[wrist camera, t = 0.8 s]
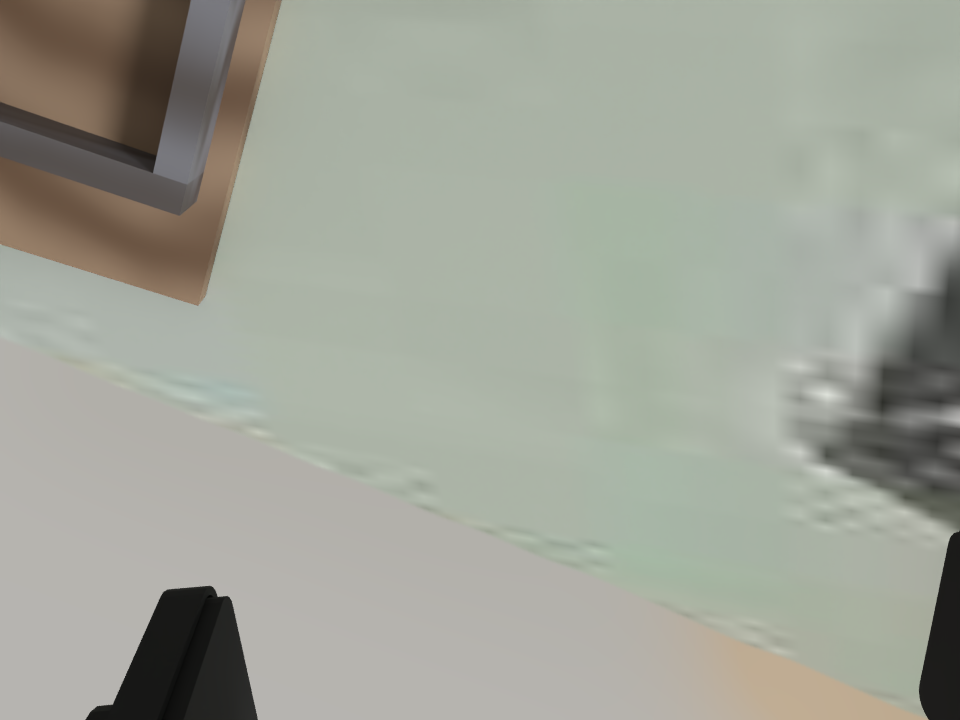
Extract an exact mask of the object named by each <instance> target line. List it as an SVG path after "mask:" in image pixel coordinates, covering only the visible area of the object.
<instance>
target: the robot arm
mask: <svg viewBox="0 0 960 720" xmlns="http://www.w3.org/2000/svg"><path fill="white" fill-rule="evenodd" d="M919 696H920V701H921V705H922V707H923V710H924V712H925V714H926V716H927V717H928V719H929V720H960V531H959V532H956V533H954V534H953V535H952V536H951V537H950V540H949V543H948V548H947V553H946V558H945V562H944V567H943V572H942V577H941V582H940V587H939V592H938V597H937V602H936V606H935V611H934V616H933V621H932V626H931V631H930V636H929V641H928V646H927V651H926V655H925V660H924V665H923V670H922V675H921V680H920V685H919ZM86 720H258V719H257V714H256V709H255V705H254V700H253V696H252V691H251V687H250V682H249V677H248V673H247V668H246V664H245V660H244V655H243V650H242V645H241V641H240V636H239V632H238V627H237V623H236V618H235V614H234V609H233V605H232V601H231V599H230V598H229V597H228V596H223V597H217V594H216V591H215V589H214V588H213V587H212V586H203V587H192V588H180V589H169V590H166V591H164V592H163V594H162V596H161V597H160V599H159V602H158V604H157V606H156V609H155V611H154V613H153V615H152V617H151V620H150V622H149V624H148V626H147V629H146V631H145V633H144V635H143V638H142V640H141V642H140V644H139V647H138V649H137V651H136V654H135V656H134V658H133V660H132V663H131V665H130V667H129V669H128V671H127V674H126V676H125V678H124V681H123V683H122V685H121V687H120V690H119V692H118V694H117V696H116V699H115V701H114V703H113V705H104V706H97V707H96V708H95V709H94V710H92V711H91V712H90V713H89V715H88V717H87V718H86Z"/></svg>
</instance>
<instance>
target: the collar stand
mask: <svg viewBox="0 0 960 720" xmlns="http://www.w3.org/2000/svg"><path fill="white" fill-rule="evenodd" d="M281 1H282V0H0V244H2V245H5V246H8V247H11V248H15V249H18V250H21V251H24V252H27V253H31V254H34V255H37V256H40V257H43V258H47V259H50V260H53V261H56V262H59V263H63V264H66V265H69V266H72V267H75V268H79V269H82V270H85V271H88V272H91V273H95V274H98V275H101V276H104V277H108V278H111V279H114V280H117V281H120V282H124V283H127V284H130V285H133V286H136V287H140V288H143V289H146V290H149V291H152V292H156V293H159V294H162V295H165V296H168V297H172V298H175V299H178V300H181V301H184V302H188V303H191V304H194V305H197V306H198V305H199V304H200V302H201V301H202V300H203V298H204V297H205V295H206V291H207V287H208V283H209V280H210V276H211V272H212V268H213V264H214V260H215V256H216V252H217V249H218V245H219V241H220V237H221V233H222V229H223V225H224V221H225V218H226V214H227V210H228V206H229V202H230V198H231V194H232V190H233V187H234V183H235V179H236V175H237V171H238V167H239V163H240V159H241V156H242V152H243V148H244V144H245V140H246V136H247V132H248V129H249V125H250V121H251V117H252V113H253V109H254V105H255V101H256V98H257V94H258V90H259V86H260V82H261V78H262V74H263V70H264V67H265V63H266V59H267V55H268V51H269V47H270V43H271V39H272V36H273V32H274V28H275V24H276V20H277V16H278V12H279V8H280V5H281Z"/></svg>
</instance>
